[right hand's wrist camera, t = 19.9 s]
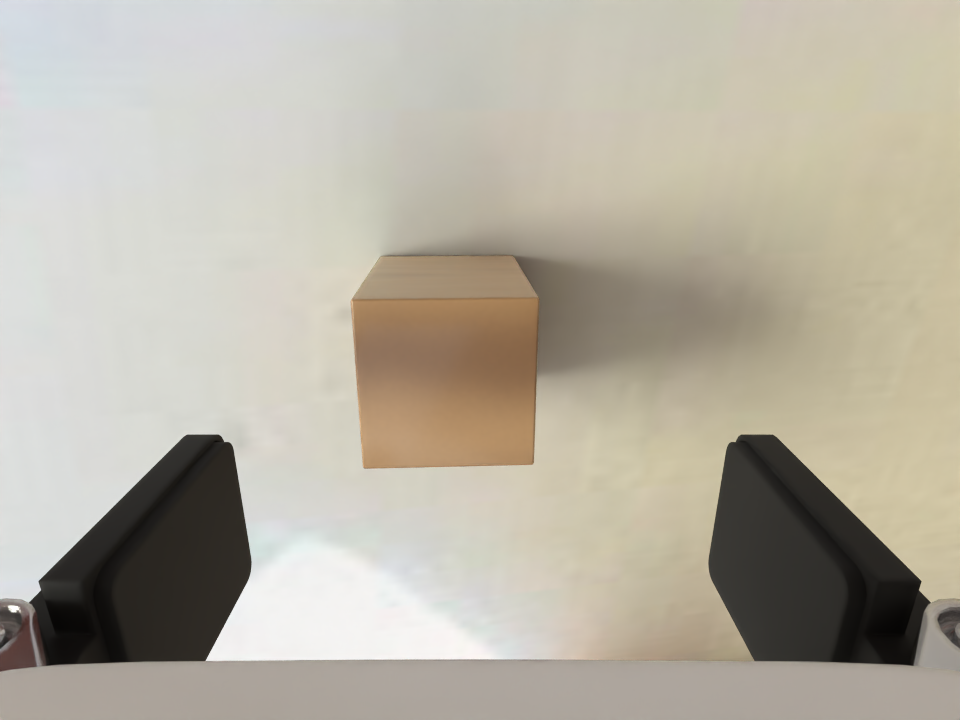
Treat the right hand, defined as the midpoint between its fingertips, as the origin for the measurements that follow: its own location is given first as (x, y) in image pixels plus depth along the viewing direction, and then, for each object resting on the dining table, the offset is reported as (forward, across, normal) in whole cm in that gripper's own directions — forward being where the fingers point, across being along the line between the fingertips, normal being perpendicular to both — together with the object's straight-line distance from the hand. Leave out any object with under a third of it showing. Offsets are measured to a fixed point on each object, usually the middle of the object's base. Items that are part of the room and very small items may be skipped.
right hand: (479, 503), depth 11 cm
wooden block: (+14, +1, 0) cm, 14 cm away
